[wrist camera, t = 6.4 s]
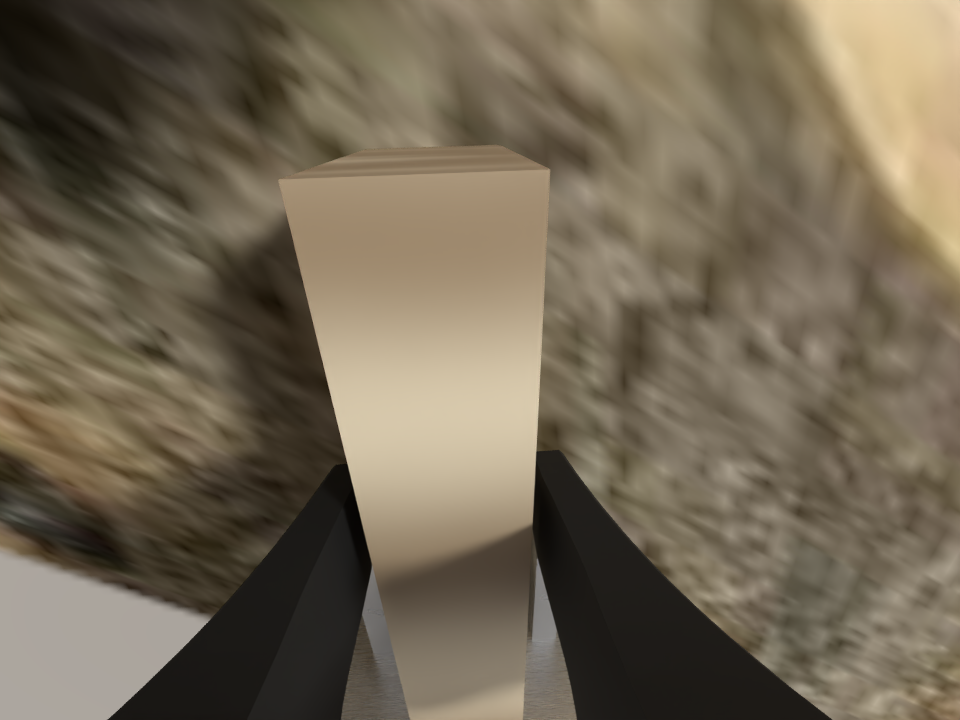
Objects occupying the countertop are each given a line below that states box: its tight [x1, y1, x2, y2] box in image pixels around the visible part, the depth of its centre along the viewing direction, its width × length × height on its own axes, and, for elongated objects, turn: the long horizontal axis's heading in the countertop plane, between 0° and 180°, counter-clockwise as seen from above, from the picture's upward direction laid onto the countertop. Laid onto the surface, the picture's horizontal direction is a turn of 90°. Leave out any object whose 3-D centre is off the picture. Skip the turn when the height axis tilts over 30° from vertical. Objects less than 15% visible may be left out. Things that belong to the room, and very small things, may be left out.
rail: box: [278, 145, 550, 720], centre depth 11 cm, size 14×3×6 cm, turn 2°
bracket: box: [341, 529, 577, 720], centre depth 13 cm, size 6×10×6 cm, turn 92°
